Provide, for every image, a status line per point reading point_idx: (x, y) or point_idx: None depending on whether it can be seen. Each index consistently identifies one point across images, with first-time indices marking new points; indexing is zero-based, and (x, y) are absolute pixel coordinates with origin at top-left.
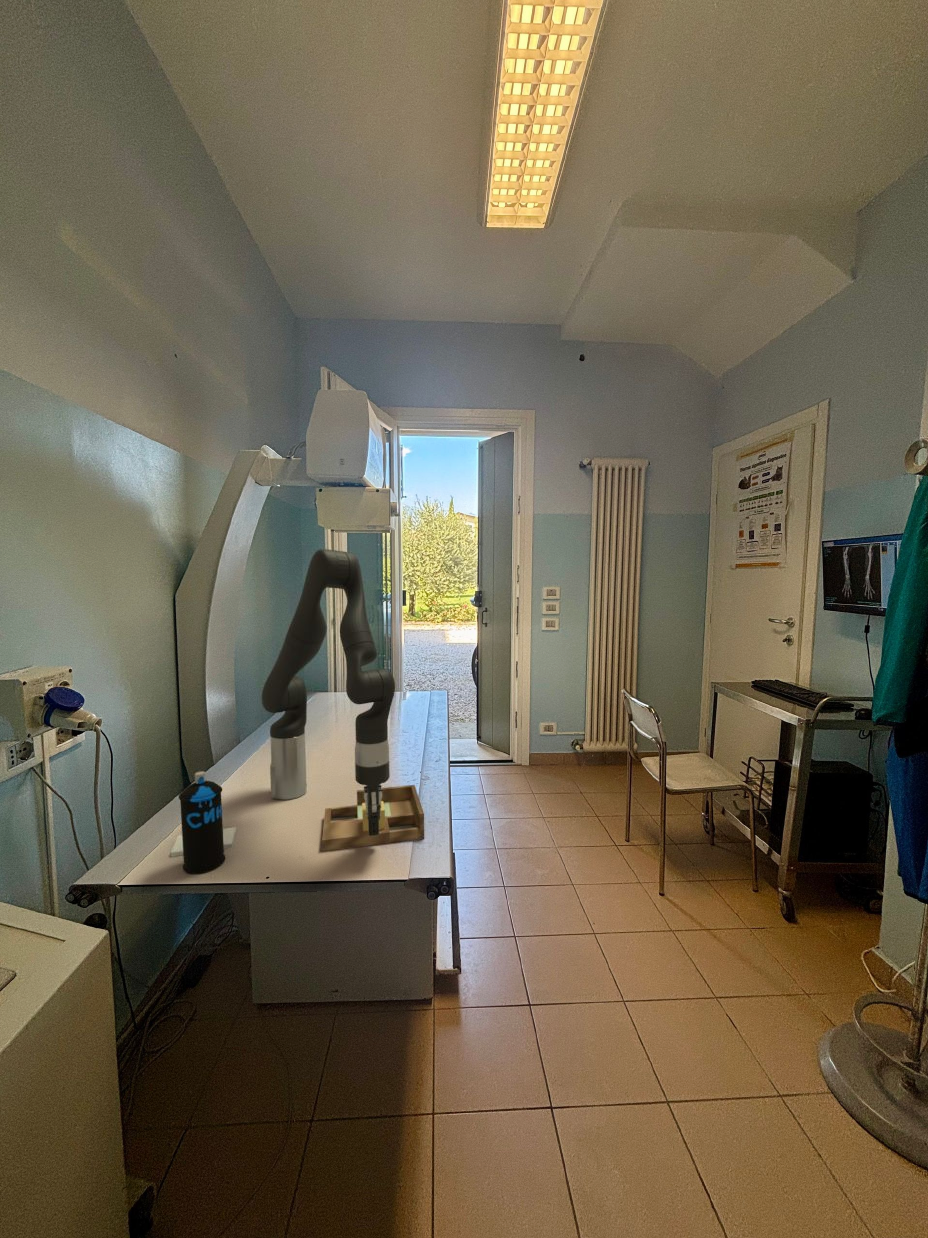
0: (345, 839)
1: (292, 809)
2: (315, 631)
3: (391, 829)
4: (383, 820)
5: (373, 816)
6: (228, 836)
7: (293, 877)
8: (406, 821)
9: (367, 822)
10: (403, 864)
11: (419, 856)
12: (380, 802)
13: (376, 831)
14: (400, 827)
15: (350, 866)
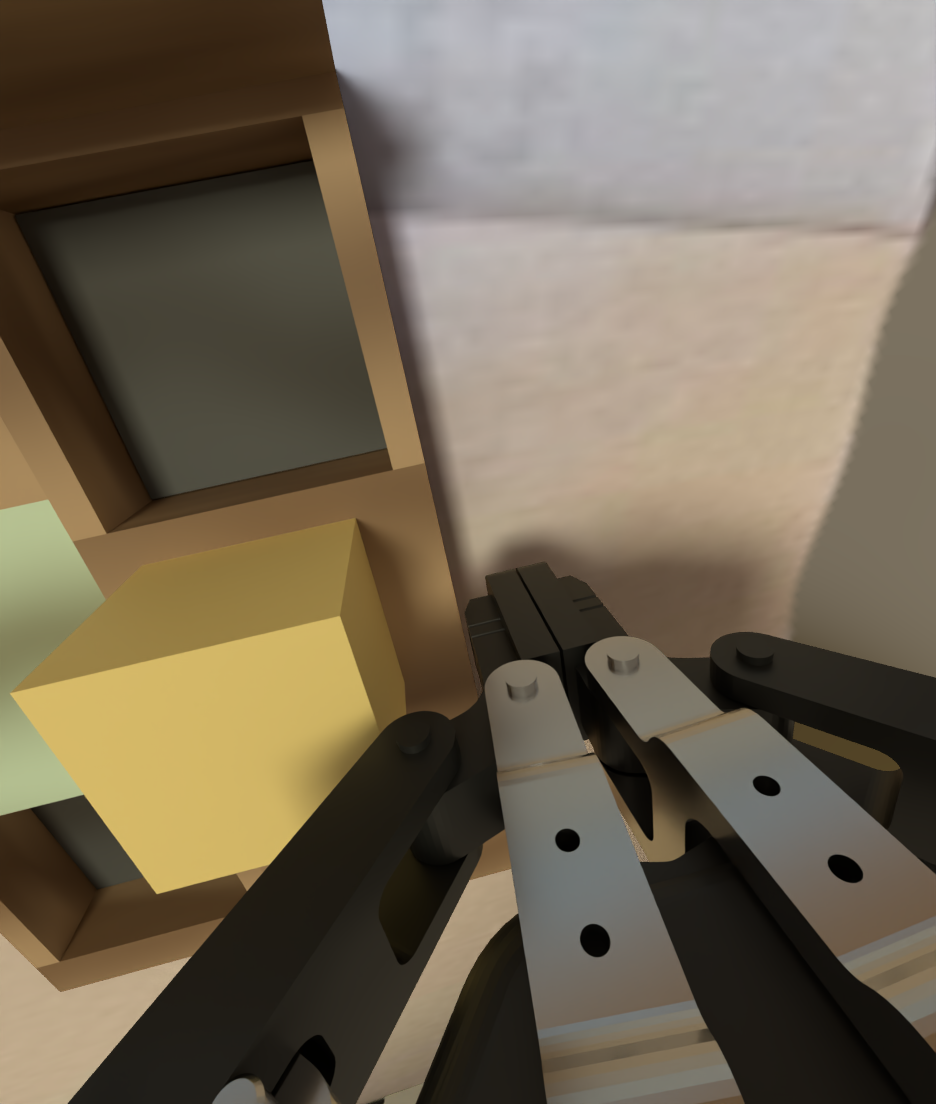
0: None
1: (30, 1069)
2: None
3: (195, 458)
4: (352, 567)
5: (789, 736)
6: None
7: None
8: (33, 307)
9: (395, 704)
10: (743, 290)
11: (661, 133)
12: (866, 829)
13: (588, 592)
14: (139, 372)
15: (678, 639)
